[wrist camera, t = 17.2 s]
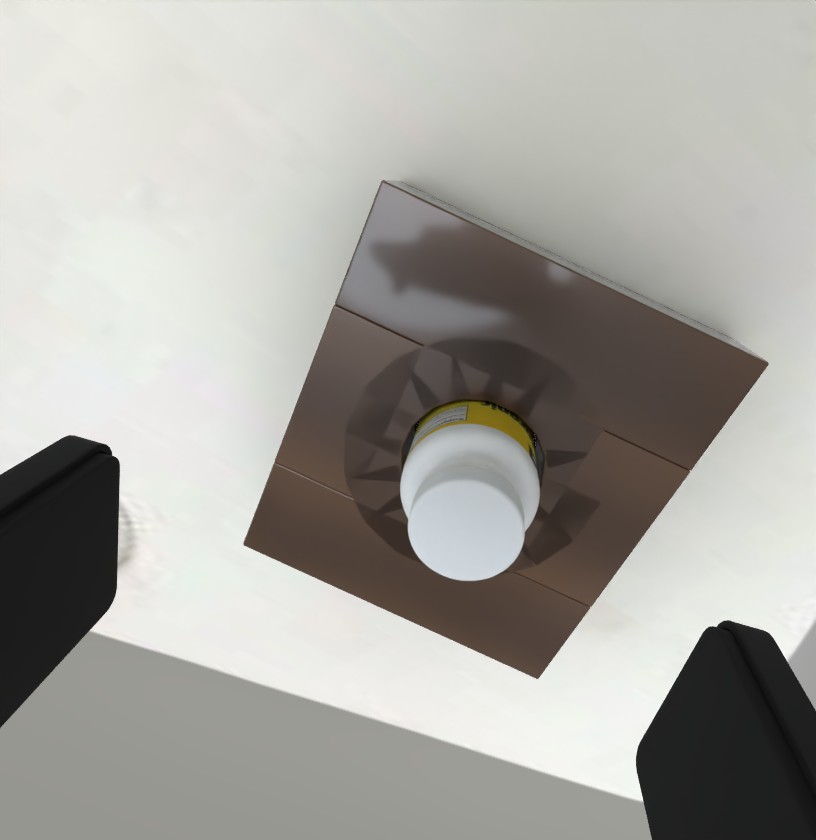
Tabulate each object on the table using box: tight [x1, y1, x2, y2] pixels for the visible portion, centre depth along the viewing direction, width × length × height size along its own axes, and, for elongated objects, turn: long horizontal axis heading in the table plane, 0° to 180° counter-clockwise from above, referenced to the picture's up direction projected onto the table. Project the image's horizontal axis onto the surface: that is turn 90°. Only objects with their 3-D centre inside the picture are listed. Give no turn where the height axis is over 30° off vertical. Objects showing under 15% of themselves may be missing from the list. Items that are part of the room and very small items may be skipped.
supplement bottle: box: [400, 399, 540, 581], centre depth 24 cm, size 5×5×10 cm
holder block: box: [244, 180, 769, 679], centre depth 27 cm, size 18×16×4 cm
